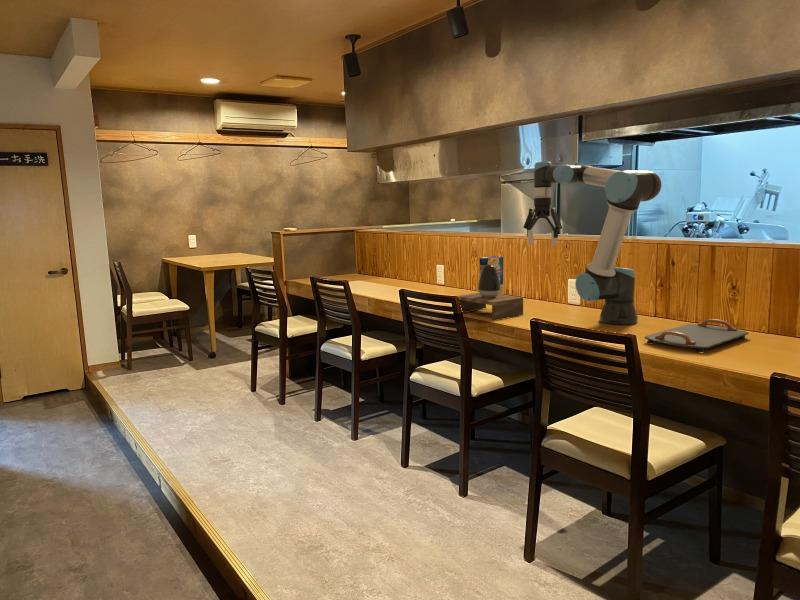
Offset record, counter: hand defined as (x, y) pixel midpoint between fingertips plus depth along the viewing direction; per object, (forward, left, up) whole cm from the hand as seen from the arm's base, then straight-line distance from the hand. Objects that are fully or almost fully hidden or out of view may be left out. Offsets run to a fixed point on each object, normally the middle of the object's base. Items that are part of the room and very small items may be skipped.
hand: (542, 244), depth 274 cm
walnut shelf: (+16, +18, -32) cm, 40 cm away
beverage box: (+48, -16, -32) cm, 60 cm away
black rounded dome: (+16, +18, -24) cm, 34 cm away
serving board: (-74, +3, -32) cm, 81 cm away
